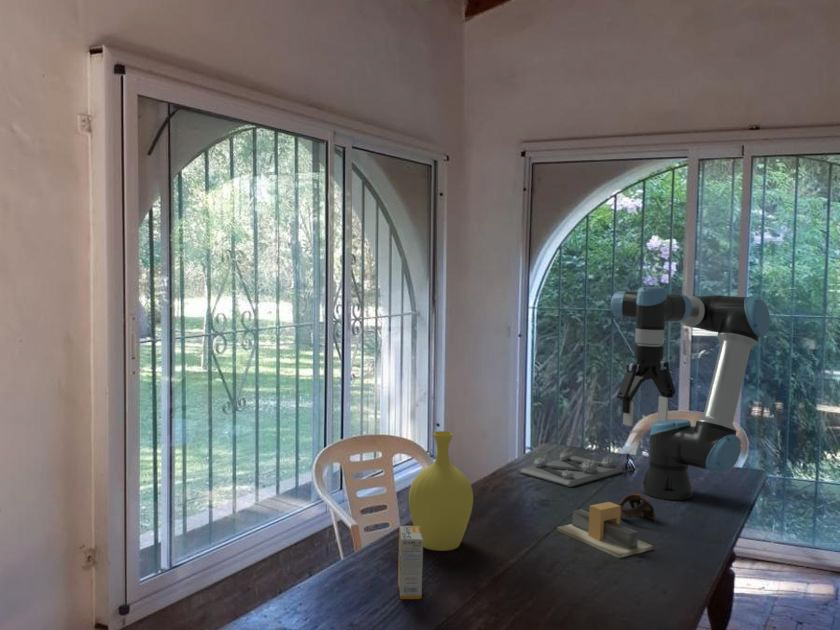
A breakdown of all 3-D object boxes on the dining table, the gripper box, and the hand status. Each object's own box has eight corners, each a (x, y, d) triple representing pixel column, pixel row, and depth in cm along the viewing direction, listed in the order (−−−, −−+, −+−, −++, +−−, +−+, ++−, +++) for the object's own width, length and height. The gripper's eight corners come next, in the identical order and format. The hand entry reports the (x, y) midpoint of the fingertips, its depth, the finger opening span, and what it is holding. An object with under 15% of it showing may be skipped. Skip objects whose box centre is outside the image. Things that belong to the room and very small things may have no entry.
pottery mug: (662, 527, 221) (651, 504, 219) (629, 540, 222) (618, 516, 220) (651, 503, 232) (641, 481, 230) (620, 515, 234) (610, 493, 231)
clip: (607, 531, 212) (609, 501, 211) (619, 536, 208) (620, 506, 208) (588, 535, 208) (589, 505, 207) (599, 540, 205) (601, 509, 204)
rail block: (589, 523, 221) (590, 505, 220) (652, 549, 202) (653, 530, 202) (557, 530, 214) (557, 512, 214) (618, 558, 196) (619, 538, 195)
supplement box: (396, 583, 177) (398, 525, 176) (418, 583, 177) (420, 525, 176) (399, 599, 168) (400, 538, 167) (422, 599, 169) (423, 538, 168)
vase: (478, 537, 207) (482, 430, 205) (461, 559, 192) (465, 443, 190) (419, 528, 212) (423, 424, 210) (398, 549, 197) (401, 436, 195)
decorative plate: (572, 461, 291) (573, 442, 290) (624, 474, 275) (625, 454, 274) (518, 475, 270) (519, 454, 270) (570, 490, 254) (571, 467, 254)
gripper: (669, 341, 226) (665, 416, 228) (605, 344, 213) (602, 424, 214) (691, 344, 220) (687, 421, 221) (627, 348, 206) (623, 429, 208)
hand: (645, 422), depth 218 cm, fingers open, 13 cm apart
